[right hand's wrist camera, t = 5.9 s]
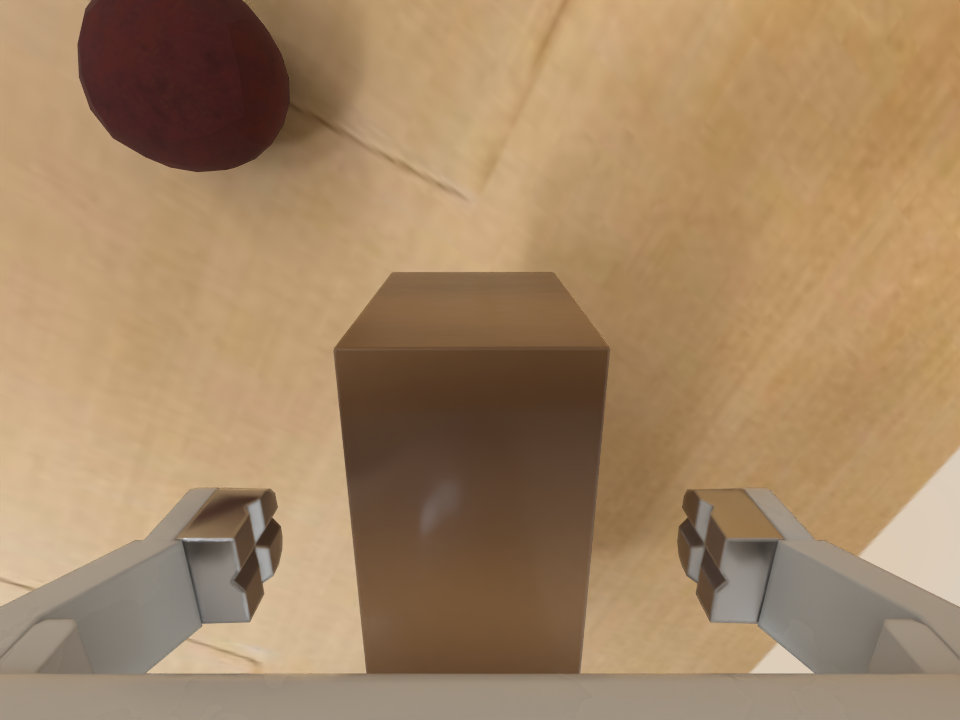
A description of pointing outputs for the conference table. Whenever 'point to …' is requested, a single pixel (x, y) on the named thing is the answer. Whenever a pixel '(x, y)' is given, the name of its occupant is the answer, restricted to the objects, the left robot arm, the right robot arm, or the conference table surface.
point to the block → (472, 471)
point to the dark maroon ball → (184, 80)
